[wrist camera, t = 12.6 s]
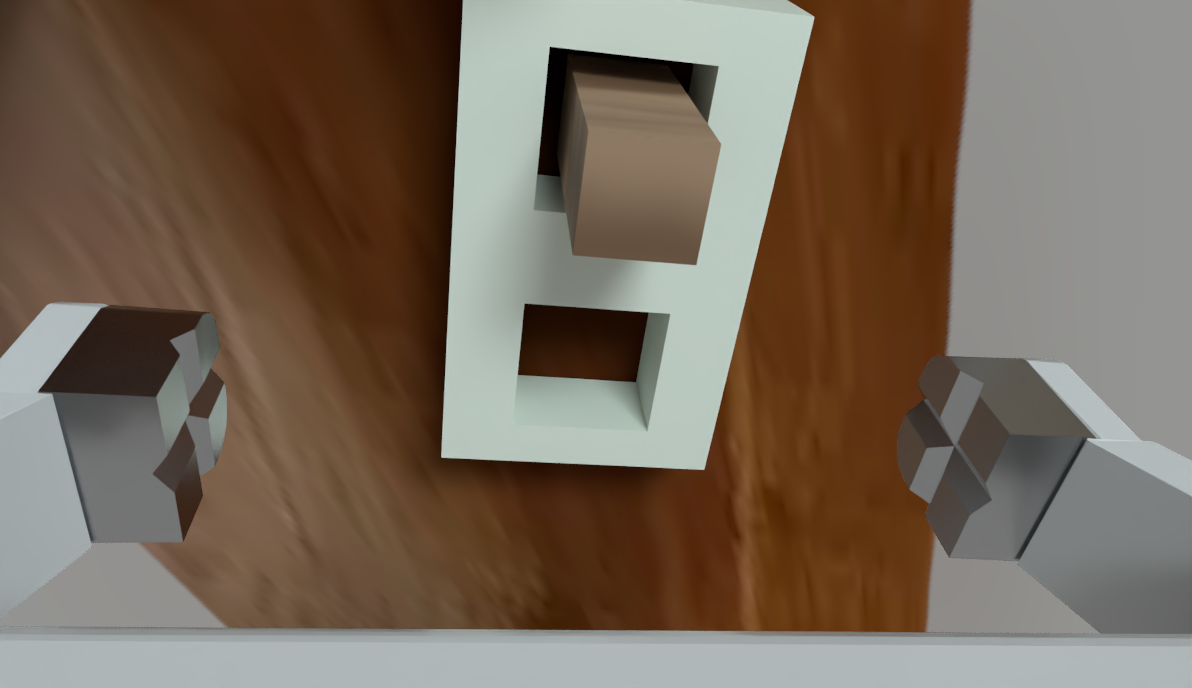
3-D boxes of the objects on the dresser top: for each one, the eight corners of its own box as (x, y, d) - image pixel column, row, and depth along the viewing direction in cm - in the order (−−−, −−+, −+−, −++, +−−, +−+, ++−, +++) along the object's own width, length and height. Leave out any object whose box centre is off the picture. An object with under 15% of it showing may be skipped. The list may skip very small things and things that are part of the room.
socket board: (468, -43, 31) (464, -28, 28) (782, -3, 33) (814, 16, 30) (446, 405, 41) (441, 457, 38) (688, 419, 43) (704, 469, 40)
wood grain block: (567, 53, 34) (588, 130, 25) (667, 65, 34) (721, 144, 26) (556, 153, 36) (572, 255, 27) (651, 162, 36) (696, 265, 28)
